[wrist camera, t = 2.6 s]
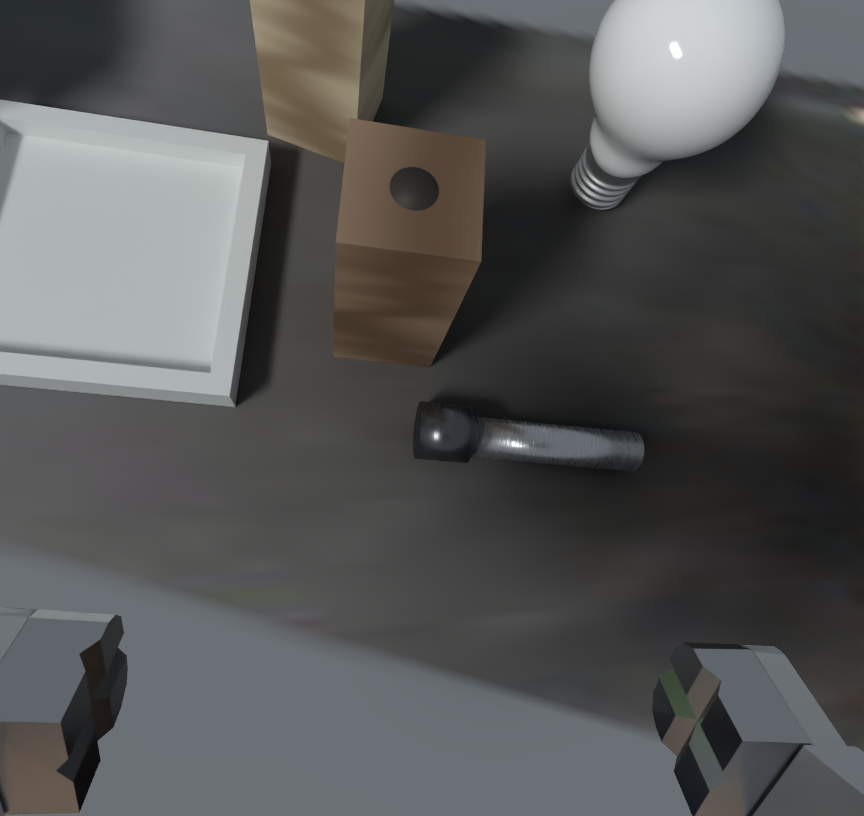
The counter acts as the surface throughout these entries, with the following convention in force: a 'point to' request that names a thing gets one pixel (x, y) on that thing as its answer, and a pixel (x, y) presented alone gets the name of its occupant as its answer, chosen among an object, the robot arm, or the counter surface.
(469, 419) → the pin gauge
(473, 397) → the counter surface
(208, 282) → the tray
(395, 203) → the block
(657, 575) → the counter surface
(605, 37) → the lightbulb
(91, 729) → the robot arm
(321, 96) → the block
